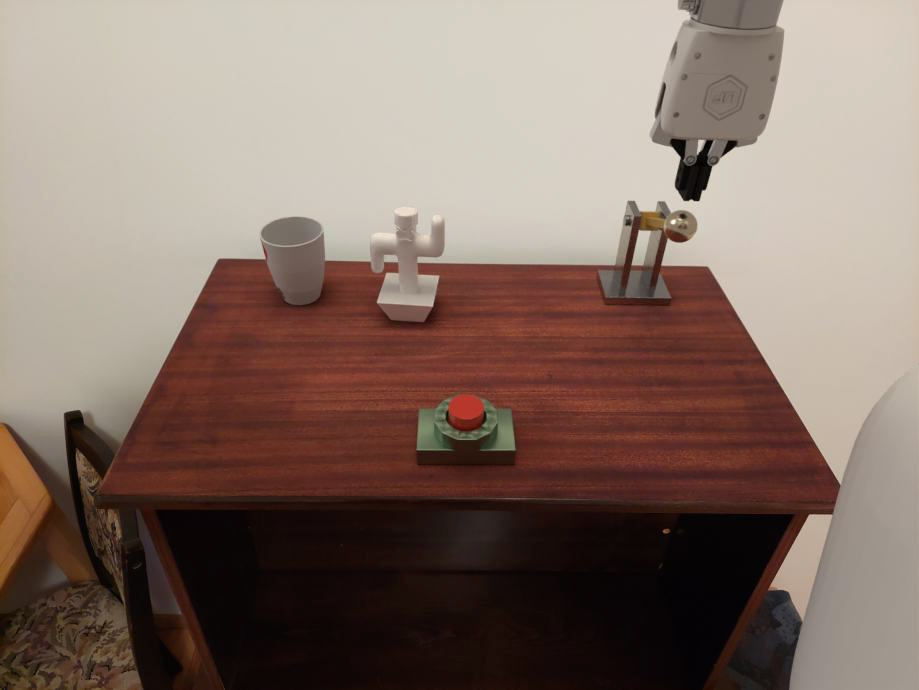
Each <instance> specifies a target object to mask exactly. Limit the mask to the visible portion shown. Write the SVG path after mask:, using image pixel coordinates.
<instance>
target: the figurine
mask: <svg viewBox="0 0 919 690" xmlns="http://www.w3.org/2000/svg"><path fill="white" fill-rule="evenodd" d="M393 213H394V215H393V217H394V225H395V233H394V232H375V233H373V234H372V235H371V236H370V239H369V254H370V257H369V258H370V267H371V271H372V272H373V273H374V274H381V273H382V272H383V271H384V269H385V256H396V257H397V268H398V269H397V271H398V272H386V273H385V276H384V279H383V282H382V285H381V288H380V290H379V291H380V292H379V294H378V297H377V300H376V304H377V306H378V307H379V308H380V309H381V310H382V311H383V312H384V313H385V314H386V316H387V317H388V318H389V319H390V321H397V322H398V321H399V322H413V323H415V322H416V323H425V321H426V319H427V318H428V316H429V315H430V313H431V311H432V309H433V308H434V303H435V299H436V294H437V290H438V285H439V280H440V275H433V274H419V267H418V266H419V265H418V263H419V261H418V258H434V259H435V258H440V257H442V255H443V254H444V251H445V246H446V244H445V243H446V242H445V241H446V222H445V221H446V220H445V218H444V216H443V215H442V214H439V213H438V214H435V215H433V216H432V218H431V222H430V234H419V233H418V230H417V226H418V224H419V212H418V209H417V208H414V207H411V206H400V207H397V208H396V209H394V211H393Z"/></svg>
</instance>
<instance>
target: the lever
mask: <svg viewBox="0 0 919 690" xmlns="http://www.w3.org/2000/svg"><path fill="white" fill-rule="evenodd" d="M639 211H640V213H641V215H642V218H641V223H640V228H639V231H641V232H651V231H658V228H663V229H664V233H665V235H666V236H667V238H668V240H670V242H674V243H677V244H682V243H686V242H688V241H690V240H691V239H692V238H694V236H695V235H696V233H697V230H698V220H697V218H696V216H695V215H694V214H693V212H690V211H688V210H684V209H679V210H674V211H673V212H671V214H670V215H669V216H668V217H667V218H666V219H661V218H659V212H655V211H654V210H653V211H652V210H651V211H650V210H649V211H648V210H639Z"/></svg>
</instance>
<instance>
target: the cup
mask: <svg viewBox="0 0 919 690" xmlns="http://www.w3.org/2000/svg"><path fill="white" fill-rule="evenodd" d="M258 235H259V239H260V243H261V246H262V250H263V253H264V257H265V261H266V265H267V267H268V270H269V272H270V276H271V278H272V280H273V282H274V285H275V287H276V288H277V290H278V292H279V293H280V295H281V297H282V298H283V300H284V302H286V303H287V304H289V305H292V306H306V305H310V304H312V303H314V302H316V301H317V300H318V299H319V298H320V296H321V294H322V293H321V292H322V290H323V289H322V288H323V284H324V279H325V268H326V267H325V266H326V265H325V264H326V246H325V232H324V225H323V224H322V223H321V222H320V221H319V220H317V219H315V218H312V217H309V216H300V215H295V216H293V215H292V216H285V217H284V216H283V217H280V218H277V219H273V220H271V221H269V222H267V223H265V225H263V226H262V227H261V228H260V230H259V234H258Z"/></svg>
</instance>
